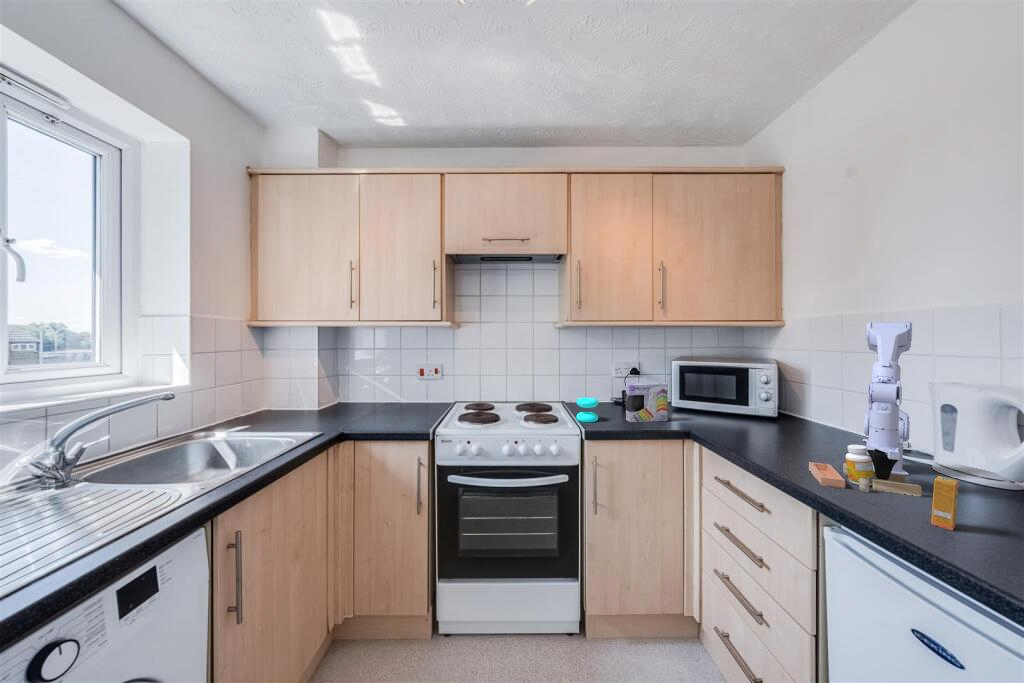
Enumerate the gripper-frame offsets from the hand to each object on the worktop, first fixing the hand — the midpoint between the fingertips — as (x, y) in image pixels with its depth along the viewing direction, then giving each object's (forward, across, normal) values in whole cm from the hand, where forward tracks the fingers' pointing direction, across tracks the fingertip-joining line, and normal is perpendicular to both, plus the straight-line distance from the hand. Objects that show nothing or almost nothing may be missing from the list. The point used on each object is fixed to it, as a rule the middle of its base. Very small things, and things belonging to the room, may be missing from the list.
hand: (882, 478), depth 105 cm
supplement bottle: (+2, 0, +4) cm, 5 cm away
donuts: (+2, +41, +92) cm, 101 cm away
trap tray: (+2, 0, +12) cm, 12 cm away
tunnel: (+2, 0, 0) cm, 2 cm away
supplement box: (+2, -23, -3) cm, 23 cm away
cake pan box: (+2, +52, +68) cm, 86 cm away
